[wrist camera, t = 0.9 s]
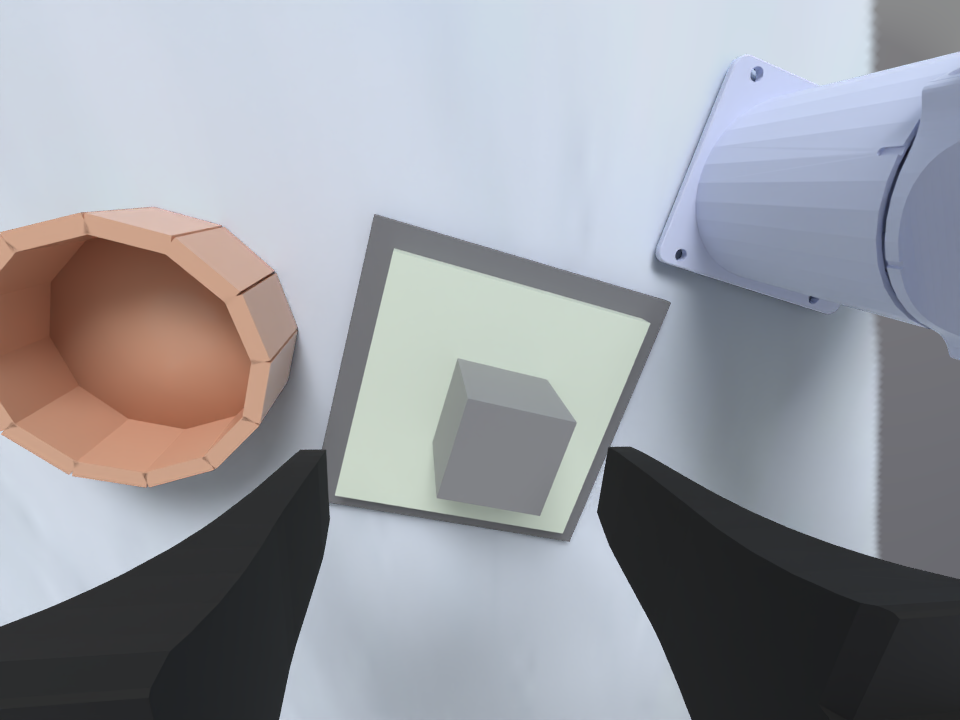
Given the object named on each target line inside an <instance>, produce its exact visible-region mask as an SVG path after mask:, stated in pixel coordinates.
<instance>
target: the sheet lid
mask: <svg viewBox="0 0 960 720" xmlns="http://www.w3.org/2000/svg"><path fill="white" fill-rule="evenodd" d="M649 326H650V323H649V322H647V321H645V320H644V319H642V318H638V317H635V316H631V315H628V314H624V313H621V312H617V311H614V310H610V309H607V308H603V307H600V306H596V305H593V304H589V303H586V302H582V301H578V300H575V299H571V298H568V297H564V296H561V295H557V294H554V293H550V292H547V291H543V290H540V289H536V288H533V287H529V286H526V285H522V284H519V283H515V282H511V281H508V280H504V279H501V278H497V277H494V276H490V275H487V274H483V273H480V272H476V271H473V270H469V269H466V268H462V267H459V266H455V265H452V264H448V263H444V262H441V261H437V260H434V259H430V258H427V257H423V256H420V255H416V254H413V253H409V252H406V251H402V250H399V249H395V248H394V250H393V254H392V258H391V263H390V267H389V271H388V275H387V279H386V284H385V288H384V292H383V296H382V300H381V304H380V309H379V313H378V317H377V321H376V325H375V329H374V334H373V338H372V342H371V346H370V350H369V355H368V359H367V363H366V367H365V371H364V375H363V380H362V384H361V388H360V392H359V396H358V401H357V405H356V409H355V413H354V417H353V421H352V426H351V430H350V434H349V438H348V442H347V447H346V451H345V455H344V459H343V463H342V467H341V472H340V476H339V480H338V484H337V488H336V493H335V496H341V497H347V498H353V499H359V500H365V501H371V502H377V503H383V504H389V505H395V506H401V507H407V508H413V509H419V510H425V511H431V512H437V513H443V514H449V515H455V516H461V517H467V518H473V519H479V520H485V521H491V522H497V523H503V524H509V525H515V526H521V527H527V528H533V529H539V530H545V531H551V532H557V533H563V532H564V529H565V527H566V524H567V522H568V520H569V517H570V515H571V513H572V510H573V508H574V505H575V503H576V501H577V498H578V496H579V493H580V491H581V489H582V486H583V484H584V481H585V479H586V477H587V474H588V472H589V469H590V467H591V465H592V462H593V460H594V457H595V455H596V453H597V450H598V448H599V446H600V443H601V441H602V438H603V436H604V434H605V431H606V429H607V426H608V424H609V422H610V419H611V417H612V414H613V412H614V410H615V407H616V405H617V402H618V400H619V398H620V395H621V393H622V390H623V388H624V386H625V383H626V381H627V379H628V376H629V374H630V371H631V369H632V367H633V364H634V362H635V359H636V357H637V355H638V352H639V350H640V347H641V345H642V343H643V340H644V338H645V335H646V333H647V331H648V328H649Z"/></svg>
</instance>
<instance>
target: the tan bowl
mask: <svg viewBox="0 0 960 720" xmlns="http://www.w3.org/2000/svg"><path fill="white" fill-rule="evenodd" d="M221 227H222V225H218V224H215V223H211V222H207V221H204V220H200V219H196V218H193V217H189V216H185V215H182V214H178V213H174V212H171V211H167V210H163V209H160V208H156V207H146V208H133V209H121V210H108V211H95V212H82V213H77V214H73V215H69V216H65V217H61V218H57V219H52V220H48V221H44V222H40V223H36V224H32V225H28V226H24V227H20V228H16V229H12V230H8V231H3V232H0V233H1V234H0V431H3V430H4V431H3V432H2V435H3V436H5V437H7V438H8V439H10V440H12V441H13V442H15V443H17V444H18V445H20V446H22V447H23V448H25V449H27V450H28V451H30V452H32V453H33V454H35V455H37V456H38V457H40V458H42V459H43V460H45V461H47V462H48V463H50V464H52V465H53V466H55V467H57V468H58V469H60V470H62V471H63V472H65V473H67V474H68V475H69V474H70V473H72V472H73V473H72V476H75V477H82V478H88V479H95V480H101V481H107V482H114V483H120V484H126V485H133V486H139V487H145V488H146V487H147V486H149V487H153V486H157V485H160V484H164V483H168V482H171V481H175V480H179V479H183V478H186V477H190V476H194V475H197V474H201V473H205V472H209V471H212V470H214V469H215V468H216V469H217V468H218V467H219V466H220V465H221V464H222V463H223V462H224V461H225V460H226V459H227V458H228V457H229V456H230V455H231V454H232V453H233V452H234V451H235V450H236V449H237V448H238V447H239V446H240V445H241V444H242V443H243V442H244V441H245V440H246V439H247V438H248V437H249V436H250V435H251V434H252V433H253V432H254V431H255V430H256V429H257V428H258V427H259V425H260V424H261V422H262V421H263V419H264V417H265V416H266V414H267V413H268V411H269V410H270V408H271V407H272V405H273V404H274V402H275V400H276V399H277V397H278V396H279V394H280V393H281V391H282V390H283V388H284V387H285V385H286V383H287V382H288V379H289V374H290V369H291V363H292V358H293V353H294V347H295V342H296V337H297V332H298V330H296V329H297V328H298V327H297V325H296V322H295V320H294V317H293V315H292V312H291V309H290V307H289V304H288V302H287V299H286V297H285V294H284V292H283V289H282V286H281V284H280V281H279V279H278V276H277V274H276V273H275V274H272V273H273V272H274V270H273V269H272V268H271V267H270V266H269V265H267V264H266V263H265V262H264V261H263V260H262V259H261V258H259V257H258V256H257V255H256V254H255V253H254V252H253V251H251V250H250V249H249V248H248V247H247V246H246V245H245V244H243V243H242V242H241V241H240V240H239V239H238V238H237V237H235V236H234V235H233V234H232V233H231V232H230V231H229V230H227V229H226V228H225V227H222V228H221Z"/></svg>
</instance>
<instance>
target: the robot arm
mask: <svg viewBox="0 0 960 720" xmlns="http://www.w3.org/2000/svg"><path fill="white" fill-rule="evenodd" d="M752 69H754V70H755V71H756V74H757V75H756V79H755V81H754V82H753V81H752V80H751V77H750V74H751V71H752ZM679 249H681V250H682V256H681V257H680V259H678V260H676V258H675V254H676V252H677V251H678V250H679ZM656 257H657V259H658V260H659V261H661V262H663V263H666V264H669V265H672V266H676V267H679V268H682V269H685V270H688V271H691V272H695V273H698V274H701V275H704V276H707V277H710V278H714V279H717V280H720V281H723V282H726V283H729V284H733V285H736V286H739V287H742V288H745V289H748V290H752V291H755V292H758V293H761V294H764V295H767V296H771V297H774V298H777V299H780V300H783V301H786V302H790V303H793V304H796V305H799V306H802V307H805V308H809V309H812V310H815V311H818V312H821V313H825V314H831V313H833V312H835V311H836V310H837V309H838V308H839V306H840V304H841V305H845V306H848V307H852V308H856V309H859V310H863V311H867V312H870V313H874V314H877V315H881V316H885V317H889V318H892V319H896V320H899V321H903V322H906V323H910V324H914V325H917V326H921V327H925V328H928V329H932V330H934V331H936V332H937V333H939V334H940V335H941V336H942V337H943V339H944V340H945V342H946V344H947V346H948V351H949V355H950V357H951V358H954V359H958V360H960V52H956V53H952V54H948V55H944V56H940V57H936V58H932V59H928V60H924V61H920V62H916V63H912V64H907V65H903V66H899V67H896V68H891V69H888V70H883V71H879V72H875V73H871V74H867V75H863V76H859V77H855V78H851V79H847V80H843V81H839V82H835V83H831V84H827V85H823V86H820V85H817V84H815V83H813V82H811V81H808V80H806V79H804V78H802V77H799V76H797V75H795V74H793V73H790V72H788V71H786V70H784V69H781V68H779V67H777V66H775V65H772V64H770V63H768V62H765V61H763V60H761V59H759V58H756V57H754V56H752V55H747V54H746V55H743V56H740V57H738V58H736V59H735V60H733V61H732V63H731V64H730V66H729V68H728V71H727V73H726V76H725V78H724V81H723V83H722V86H721V88H720V91H719V93H718V96H717V98H716V101H715V103H714V106H713V108H712V111H711V113H710V116H709V118H708V121H707V123H706V125H705V128H704V130H703V133H702V135H701V138H700V140H699V143H698V145H697V148H696V150H695V153H694V155H693V158H692V160H691V163H690V165H689V168H688V170H687V173H686V175H685V178H684V180H683V183H682V185H681V188H680V190H679V193H678V195H677V198H676V200H675V203H674V205H673V208H672V210H671V213H670V215H669V218H668V220H667V223H666V225H665V228H664V230H663V232H662V235H661V237H660V240H659V242H658V245H657V247H656ZM809 296H812V299H811V300H810V301H809ZM597 513H598V516H599V519H600V522H601V524H602V527H603V530H604V533H605V535H606V538H607V541H608V543H609V546H610V548H611V550H612V552H613V554H614V556H615V557H616V559H617V561H618V563H619V565H620V567H621V569H622V571H623V573H624V574H625V576H626V578H627V580H628V582H629V584H630V585H631V587H632V589H633V591H634V593H635V595H636V597H637V598H638V600H639V602H640V604H641V606H642V608H643V609H644V611H645V613H646V615H647V617H648V619H649V621H650V622H651V624H652V626H653V628H654V630H655V632H656V635H657V637H658V639H659V641H660V643H661V645H662V648H663V650H664V652H665V655H666V657H667V660H668V662H669V664H670V667H671V669H672V671H673V674H674V676H675V679H676V681H677V683H678V686H679V689H680V691H681V694H682V696H683V699H684V701H685V704H686V707H687V709H688V712H689V714H690V717H691V719H692V720H960V579H956V578H952V577H948V576H944V575H940V574H935V573H931V572H927V571H922V570H918V569H914V568H910V567H906V566H902V565H899V564H895V563H891V562H888V561H884V560H881V559H878V558H874V557H871V556H868V555H864V554H861V553H858V552H855V551H851V550H848V549H845V548H842V547H839V546H836V545H833V544H830V543H828V542H825V541H822V540H819V539H817V538H814V537H811V536H808V535H806V534H803V533H800V532H798V531H795V530H793V529H790V528H788V527H785V526H783V525H780V524H778V523H776V522H774V521H771V520H769V519H767V518H764V517H762V516H760V515H758V514H755V513H753V512H751V511H749V510H747V509H745V508H743V507H741V506H739V505H737V504H735V503H733V502H731V501H729V500H727V499H725V498H723V497H721V496H719V495H717V494H715V493H713V492H712V491H710V490H708V489H706V488H704V487H702V486H701V485H699V484H697V483H695V482H694V481H692V480H690V479H688V478H687V477H685V476H683V475H681V474H680V473H678V472H676V471H674V470H673V469H671V468H669V467H668V466H666V465H664V464H662V463H661V462H659V461H657V460H655V459H654V458H652V457H650V456H648V455H646V454H645V453H643V452H641V451H639V450H637V449H634V448H632V447H608V452H607V458H606V464H605V470H604V475H603V481H602V487H601V493H600V498H599V504H598V510H597ZM329 521H330V515H329V495H328V475H327V455H326V450H299V451H298V452H297V453H296V454H295V455H294V456H292V457H291V458H290V459H289V460H288V461H287V462H286V463H284V464H283V465H282V466H281V467H280V468H279V469H278V470H277V471H275V472H274V473H273V474H272V475H271V476H270V477H269V478H267V479H266V480H265V481H264V482H263V483H262V484H260V485H259V486H258V487H257V488H256V489H255V490H253V491H252V492H251V493H250V494H248V495H247V496H246V497H244V498H243V499H242V500H241V501H239V502H238V503H237V504H235V505H234V506H233V507H231V508H230V509H229V510H227V511H226V512H225V513H224V514H222V515H221V516H220V517H218V518H217V519H215V520H214V521H213V522H211V523H210V524H208V525H207V526H205V527H204V528H202V529H201V530H199V531H198V532H196V533H195V534H193V535H191V536H190V537H188V538H187V539H185V540H183V541H182V542H180V543H179V544H177V545H175V546H174V547H172V548H170V549H169V550H167V551H165V552H163V553H161V554H159V555H157V556H156V557H154V558H152V559H150V560H148V561H146V562H145V563H143V564H141V565H139V566H137V567H135V568H133V569H132V570H130V571H128V572H126V573H124V574H122V575H120V576H118V577H116V578H114V579H112V580H110V581H108V582H106V583H104V584H102V585H99V586H97V587H95V588H93V589H91V590H89V591H86V592H84V593H82V594H80V595H77V596H75V597H73V598H71V599H68V600H66V601H64V602H62V603H59V604H57V605H55V606H52V607H50V608H47V609H45V610H43V611H40V612H37V613H35V614H32V615H30V616H27V617H24V618H22V619H19V620H17V621H14V622H11V623H9V624H6V625H4V626H1V627H0V720H279V717H280V712H281V707H282V703H283V698H284V693H285V688H286V684H287V679H288V674H289V669H290V665H291V662H292V658H293V654H294V650H295V647H296V643H297V640H298V637H299V634H300V631H301V627H302V624H303V621H304V618H305V615H306V611H307V608H308V605H309V602H310V599H311V595H312V592H313V589H314V586H315V583H316V579H317V576H318V573H319V570H320V566H321V563H322V560H323V555H324V550H325V545H326V539H327V533H328V527H329Z"/></svg>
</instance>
